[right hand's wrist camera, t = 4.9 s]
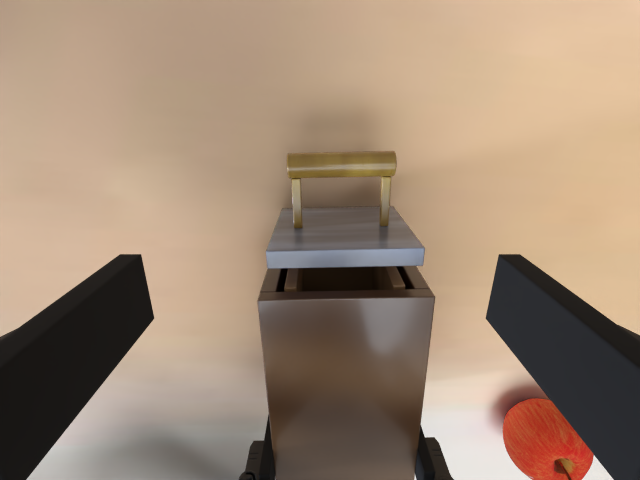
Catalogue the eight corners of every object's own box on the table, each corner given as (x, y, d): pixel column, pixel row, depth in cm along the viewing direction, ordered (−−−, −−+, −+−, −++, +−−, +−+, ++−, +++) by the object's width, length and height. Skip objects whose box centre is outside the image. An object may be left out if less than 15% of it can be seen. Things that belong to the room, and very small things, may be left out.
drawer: (277, 146, 28) (258, 163, 19) (396, 143, 27) (433, 159, 19) (292, 367, 36) (283, 453, 27) (383, 365, 36) (405, 451, 27)
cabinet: (278, 234, 31) (257, 300, 21) (395, 232, 31) (435, 296, 21) (289, 390, 38) (277, 501, 27) (385, 388, 38) (412, 499, 27)
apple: (508, 446, 41) (550, 521, 34) (479, 405, 39) (517, 476, 31) (572, 418, 39) (631, 490, 32) (545, 374, 37) (602, 440, 30)
